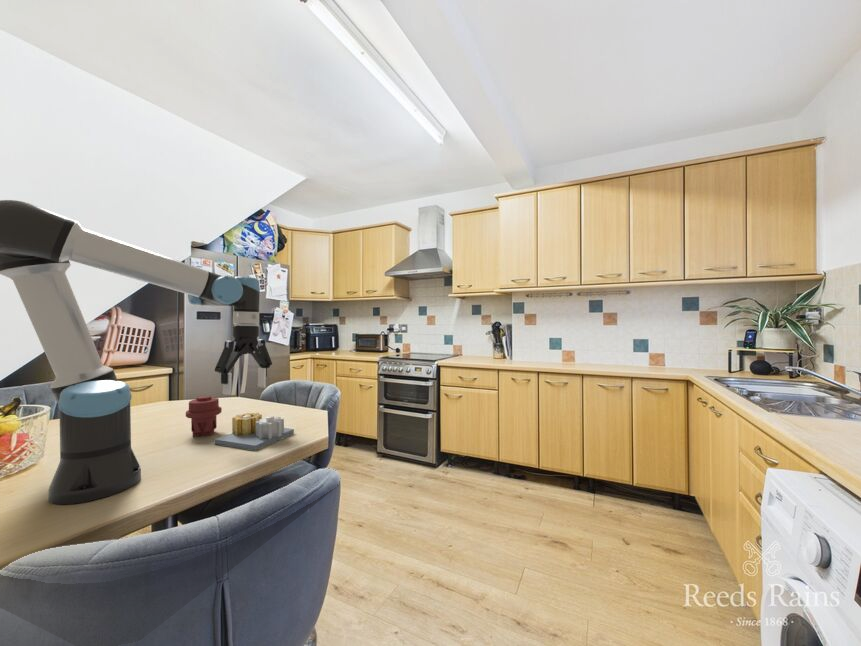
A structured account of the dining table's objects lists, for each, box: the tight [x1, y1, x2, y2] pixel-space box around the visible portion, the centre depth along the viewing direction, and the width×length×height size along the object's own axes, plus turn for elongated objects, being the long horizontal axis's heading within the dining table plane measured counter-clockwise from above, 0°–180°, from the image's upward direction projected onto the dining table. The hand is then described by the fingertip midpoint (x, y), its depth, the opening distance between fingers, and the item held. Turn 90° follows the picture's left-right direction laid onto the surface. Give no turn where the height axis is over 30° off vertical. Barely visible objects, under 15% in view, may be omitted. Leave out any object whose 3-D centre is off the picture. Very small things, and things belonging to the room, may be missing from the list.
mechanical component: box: [185, 395, 223, 437], centre depth 117 cm, size 12×10×10 cm
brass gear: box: [231, 412, 263, 436], centre depth 114 cm, size 8×8×5 cm
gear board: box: [214, 415, 295, 452], centre depth 112 cm, size 16×17×7 cm
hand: (245, 390), depth 114 cm, fingers open, 13 cm apart
